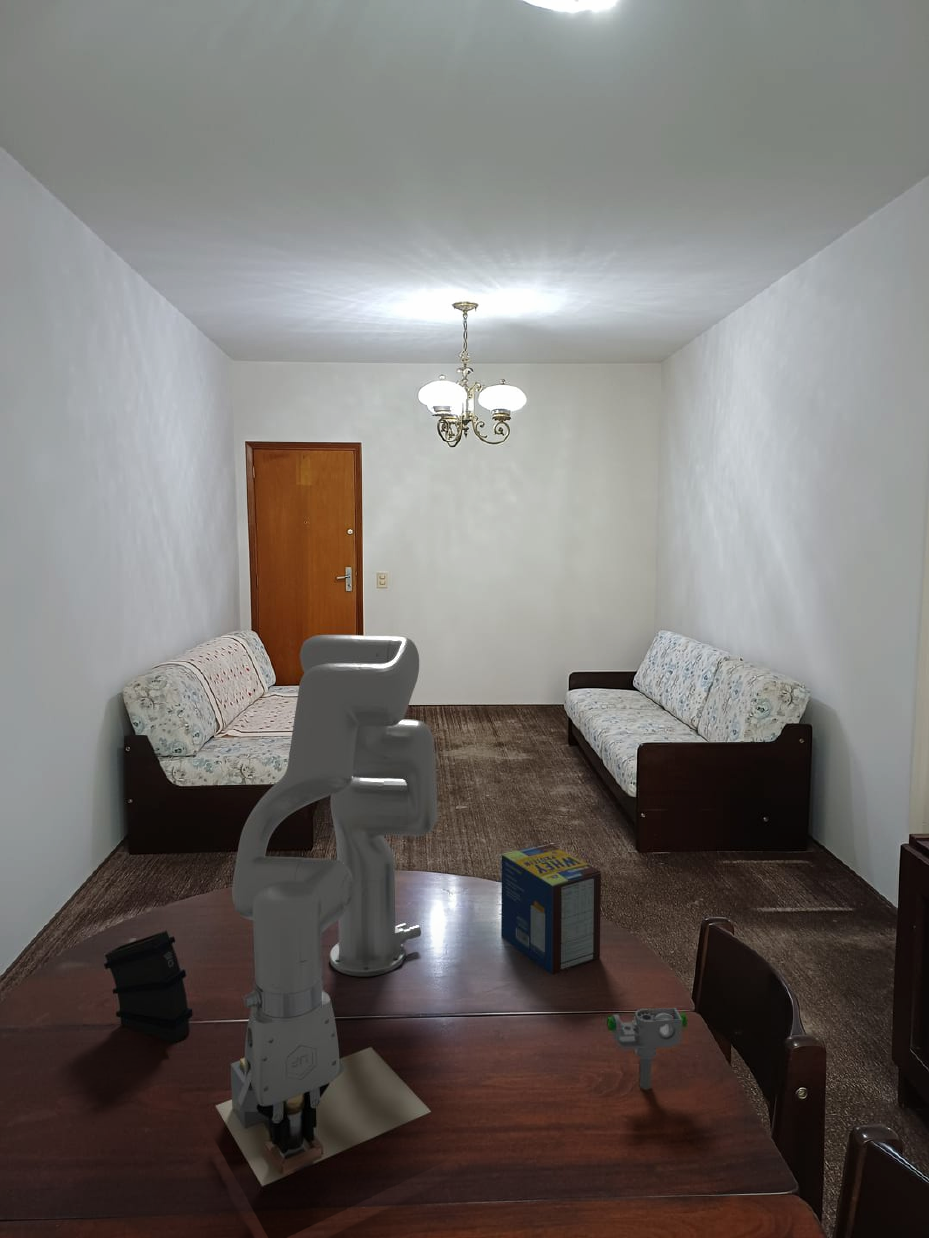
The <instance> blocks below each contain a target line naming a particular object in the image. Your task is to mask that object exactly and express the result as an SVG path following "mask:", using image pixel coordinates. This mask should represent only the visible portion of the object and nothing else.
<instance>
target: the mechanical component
mask: <svg viewBox="0 0 929 1238" xmlns="http://www.w3.org/2000/svg"><path fill="white" fill-rule="evenodd" d="M606 1024H607V1025H606V1026H607V1027H606V1028H607V1030H608V1032H609V1031H611V1033H612V1035H613V1038H614V1040H615V1042H616V1044H617V1046H618V1047H619V1048H620V1049H621V1050H635V1054H636V1057H638V1058H639V1063H638V1064H639V1065H638V1069H639V1070H638V1083H639V1084H638V1085H639V1086H640V1088H641V1089H642V1090H648V1091H649V1090H650V1089H651V1087H652V1063H653V1062H652V1061H653V1059H654V1058H656V1056H657V1052H656V1049H658V1048H659V1049H660V1048H674V1047H676V1046H678V1045H679V1044H680V1042H681V1039H682V1032H683V1028H686V1027H687V1026H688V1021H687V1016H686V1014H685V1013H679V1011H678V1009H677V1007H673V1008H669V1007H667V1008H642V1009H637V1010H636V1011H635V1013H634V1016H633V1019H632V1020H631V1021H628V1022H626V1021H625V1022H623V1021H622V1020H621V1018H620V1016H619V1014H613V1015H611V1017H607V1018H606Z"/></svg>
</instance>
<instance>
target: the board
mask: <svg viewBox="0 0 929 1238" xmlns="http://www.w3.org/2000/svg"><path fill="white" fill-rule="evenodd" d="M339 1061H340V1062H341V1064H342V1066H343V1067H344V1070H343V1072H342V1073H341V1074H340V1075H339V1076H338V1077H337V1078H335V1079H334V1080H333V1081H332V1082H330V1084H329V1086H328V1087H327V1089H326V1090H325V1092H324V1093H323V1095H322V1096H321V1097H320V1104H319V1106H318V1107H316V1122H317V1126H316V1127H315V1128H314V1141H311V1142H309V1141H308V1142H307V1140H306V1139H305V1138H304V1142H303V1144H302V1146H300V1147H299V1148H297V1149H292V1150H290V1149H288V1150H287V1152H285V1153H283V1154H282V1152H281V1151H280V1149H279V1148H278V1146H277V1145H276V1144H274V1145H273V1144H272V1142H271V1140H270V1136H269V1120H266V1121H264V1122H261V1123H259V1124H256V1125H254V1126H251V1127H249V1128H246V1129H244V1127H243V1125H242V1124H241V1122H240V1120H239V1119H238V1117H237V1115H236V1114H235V1112H234V1110H233V1109H232V1099H230V1100H229V1099H228V1100H227V1101H224V1102H222V1103H219V1104H216V1105H215V1108H216V1110H217V1111H218V1113H219V1115H220V1116H221V1118H222V1120H223V1121H224V1123H225V1125H226V1127H227V1128H228V1130H229V1132H230V1133H231V1135H232V1137H233V1138H234V1140H235V1142H236V1144H237V1146H238V1147H239V1150H240V1151H241V1153H242V1154H243V1156H244V1158H245V1160H246V1161H247V1162H248V1165H249V1166H250V1168H251V1169H252V1172H253V1173H254V1175H255V1177H256V1178H257V1180H258V1182H259V1184H260V1185H261V1187H264V1186H266V1185H269V1184H271V1183H274V1182H276V1181H277V1180H280V1179H283V1178H284V1177H287V1176H289V1175H291V1174H294V1173H295V1172H298V1171H301V1170H303V1169H306V1168H308V1167H310V1166H312V1165H314V1164H316V1163H319V1162H321V1161H323V1160H325V1159H328V1158H330V1157H332V1156H334V1155H337V1154H339V1153H341V1152H344V1151H346V1150H349V1149H350V1148H352V1147H355V1146H358V1145H359V1144H361V1143H364V1142H366V1141H368V1140H371V1139H373V1138H375V1137H377V1136H380V1135H382V1134H384V1133H386V1132H387V1133H388V1132H389V1131H391V1130H393V1129H396V1128H398V1127H400V1126H402V1125H405V1124H407V1123H409V1122H412V1121H414V1120H416V1119H419V1118H421V1117H423V1116H425V1115H427V1114H430V1113H432V1111H431V1110H430V1109H429V1107H428V1106H427V1105H426V1104H425V1103H424V1102H423V1101H422V1100H421V1099H420V1098H419V1097H418V1096H417V1094H415V1093H414V1091H413V1090H412V1089H411V1088H410V1087H409V1086H408V1084H406V1083H405V1081H403V1080H402V1079H401V1078H400V1077H399V1075H398V1074H397V1073H396V1072H395V1071H394V1069H392V1068H391V1067H390V1066H389V1065H388V1064H387V1062H386V1061H385V1060H384V1059H382V1057H381V1056H380V1055H379V1054H378V1053H377V1052H376V1051H375V1050H374V1049H373V1047H372V1046H369V1047H368V1048H364V1049H362V1050H360V1051H356V1052H353V1053H352V1054H349V1055H345V1056H343V1057H342V1058H340V1057H339Z"/></svg>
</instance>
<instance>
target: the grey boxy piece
mask: <svg viewBox="0 0 929 1238" xmlns="http://www.w3.org/2000/svg"><path fill="white" fill-rule="evenodd" d="M230 1081H231V1082H230V1084H231V1085H230V1086H231V1087H230V1088H231V1100H232V1109H233V1110H234V1112H235V1114H236V1115H237V1117H238V1119H239V1120H240V1122H241V1124H242V1125H243V1127H244V1129H246V1128H249V1127H251V1126H254V1125H256V1124H259V1123H261V1122H264V1121H266V1120H269V1118H268V1117H266V1116H264V1115H263V1114H261V1113H259V1112H258V1111H255V1112H249V1111H242V1110H241V1109H240V1107H239V1106H238V1104H237V1100H238V1097H239V1095H240V1092H241V1090H242V1087H243V1085H244V1082H245V1057H243V1058H240V1059H239V1060H236V1061H234V1062H232V1063H230Z"/></svg>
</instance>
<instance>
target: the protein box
mask: <svg viewBox="0 0 929 1238" xmlns="http://www.w3.org/2000/svg"><path fill="white" fill-rule="evenodd" d="M500 885H501V890H500V891H501V893H500V895H501V896H500V897H501V898H500V899H501V906H500V907H501V909H500V911H501V913H500V915H501V919H500V922H501V924H500V925H501V926H500V927H501V928H500V930H501V931H500V936H501V938H503V939H504V940H505V941H507V942H508V943H510V944H511V945H512V946H514V947H515V948H516V949H518V950H519V951H520V952H522V953H523V954H524V955H526V956H527V957H528V958H529V959H531V960H532V961H533V962H535V963H536V964H537V965H538V966H540V967H541V968H542V969H544V970H545V971H546V972H548V973H549V974H551V975H552V974H553V975H554V974H556V973H559V972H562V971H565V970H568V969H572V968H574V967H577V966H579V965H583V964H586V963H589V962H592V961H595V960H598V959H600V958H601V917H602V916H601V913H602V912H601V909H602V908H601V907H602V905H601V903H602V871H601V870H599V869H598V868H596V867H594V866H592V865H590V864H588V863H586V862H585V861H583V860H581V859H579V858H578V857H575V856H573V855H571V854H569V853H568V852H566V851H564V850H562V849H560V848H558V847H557V846H555V845H553V844H551V843H549V842H546V843H543V844H538V845H537V844H536V845H534V846H529V847H526V848H521V849H518V850H516V849H515V850H513V851H509V852H505V853H501V884H500Z"/></svg>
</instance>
